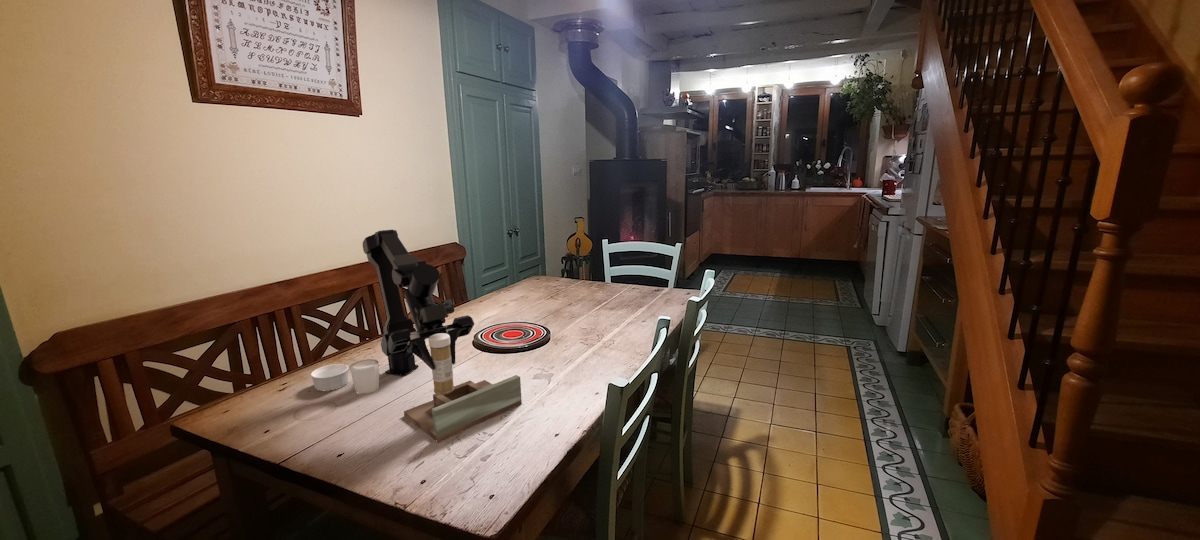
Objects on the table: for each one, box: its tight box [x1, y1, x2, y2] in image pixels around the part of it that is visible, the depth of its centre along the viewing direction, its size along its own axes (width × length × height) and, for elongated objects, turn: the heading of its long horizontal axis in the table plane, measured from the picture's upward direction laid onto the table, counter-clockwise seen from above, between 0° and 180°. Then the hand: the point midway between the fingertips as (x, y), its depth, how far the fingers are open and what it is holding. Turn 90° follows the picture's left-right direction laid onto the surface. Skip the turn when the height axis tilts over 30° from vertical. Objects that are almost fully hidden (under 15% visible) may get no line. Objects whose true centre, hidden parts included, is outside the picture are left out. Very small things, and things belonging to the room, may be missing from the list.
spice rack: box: [403, 374, 523, 443], centre depth 116 cm, size 16×22×7 cm
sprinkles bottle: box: [428, 333, 454, 395], centre depth 110 cm, size 5×5×13 cm
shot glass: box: [349, 358, 380, 394], centre depth 127 cm, size 7×7×7 cm
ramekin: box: [310, 363, 350, 392], centre depth 130 cm, size 9×9×4 cm
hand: (444, 366), depth 109 cm, fingers closed on sprinkles bottle, 4 cm apart
